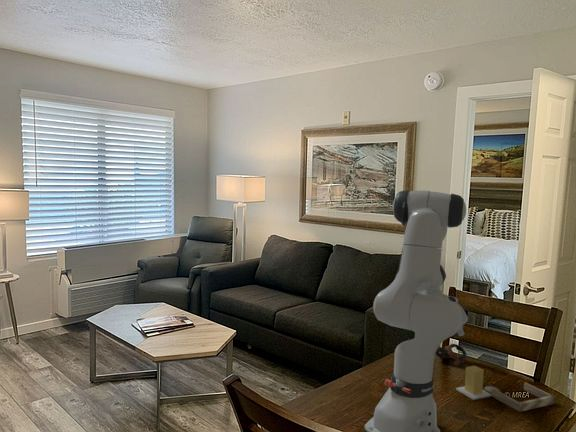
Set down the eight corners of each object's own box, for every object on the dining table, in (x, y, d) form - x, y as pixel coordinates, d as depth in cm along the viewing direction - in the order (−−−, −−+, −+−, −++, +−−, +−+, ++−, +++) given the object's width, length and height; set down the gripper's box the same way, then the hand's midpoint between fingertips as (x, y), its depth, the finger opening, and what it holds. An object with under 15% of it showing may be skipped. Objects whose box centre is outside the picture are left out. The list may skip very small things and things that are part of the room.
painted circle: (496, 394, 152) (496, 394, 152) (481, 389, 155) (481, 388, 155) (502, 390, 155) (502, 389, 155) (487, 385, 159) (487, 384, 159)
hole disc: (480, 388, 156) (480, 387, 156) (466, 383, 160) (466, 382, 160) (486, 384, 160) (486, 383, 160) (473, 379, 163) (473, 379, 163)
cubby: (519, 411, 140) (519, 404, 140) (491, 396, 150) (492, 389, 150) (554, 403, 146) (555, 396, 146) (525, 389, 157) (526, 382, 156)
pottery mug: (454, 357, 186) (464, 344, 182) (461, 375, 178) (471, 362, 174) (428, 350, 185) (437, 337, 181) (434, 368, 177) (443, 354, 172)
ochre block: (473, 394, 150) (474, 371, 150) (464, 389, 154) (465, 367, 153) (482, 392, 152) (483, 370, 151) (473, 387, 155) (474, 365, 155)
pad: (473, 400, 148) (473, 398, 147) (455, 389, 155) (456, 387, 155) (491, 396, 151) (491, 394, 150) (473, 386, 158) (473, 384, 158)
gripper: (417, 301, 165) (433, 335, 156) (460, 297, 172) (478, 330, 164) (409, 310, 169) (424, 343, 161) (451, 305, 177) (468, 337, 168)
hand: (452, 336), depth 162 cm, fingers open, 8 cm apart
